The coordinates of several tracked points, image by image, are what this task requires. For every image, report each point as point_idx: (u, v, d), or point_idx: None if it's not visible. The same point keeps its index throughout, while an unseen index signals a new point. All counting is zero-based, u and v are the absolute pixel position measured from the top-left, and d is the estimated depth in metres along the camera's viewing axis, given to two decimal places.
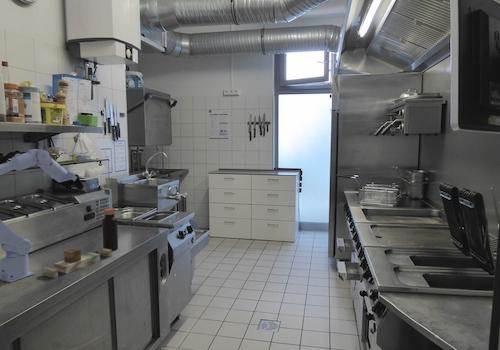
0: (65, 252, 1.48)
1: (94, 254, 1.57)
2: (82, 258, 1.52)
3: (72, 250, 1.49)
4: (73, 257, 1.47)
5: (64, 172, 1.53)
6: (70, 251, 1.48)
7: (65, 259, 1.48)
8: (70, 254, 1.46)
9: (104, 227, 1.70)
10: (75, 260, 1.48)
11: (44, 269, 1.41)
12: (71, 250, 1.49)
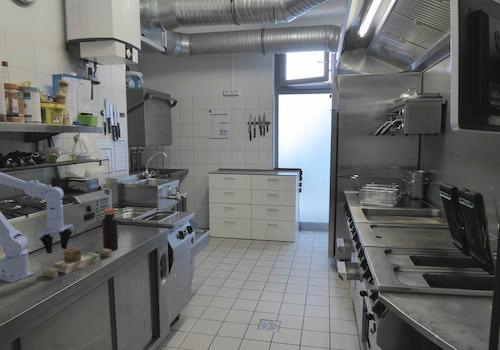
0: (65, 252, 1.48)
1: (94, 254, 1.57)
2: (82, 258, 1.52)
3: (72, 250, 1.49)
4: (73, 257, 1.47)
5: (50, 226, 1.39)
6: (70, 251, 1.48)
7: (65, 259, 1.48)
8: (70, 254, 1.46)
9: (104, 227, 1.70)
10: (75, 260, 1.48)
11: (44, 269, 1.41)
12: (71, 250, 1.49)
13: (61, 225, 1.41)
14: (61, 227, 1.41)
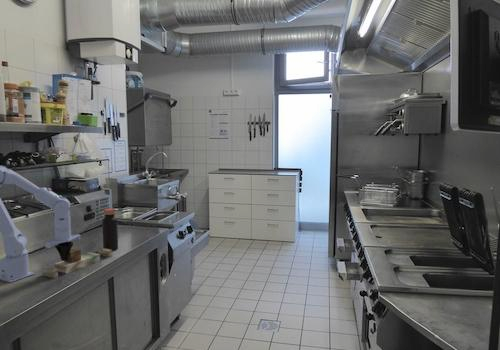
0: None
1: (94, 254, 1.57)
2: (82, 258, 1.52)
3: (72, 250, 1.49)
4: (73, 257, 1.47)
5: (58, 236, 1.42)
6: (70, 251, 1.48)
7: None
8: (70, 254, 1.46)
9: (104, 227, 1.70)
10: (75, 260, 1.48)
11: (44, 269, 1.41)
12: (71, 250, 1.49)
13: (69, 235, 1.44)
14: (69, 237, 1.44)
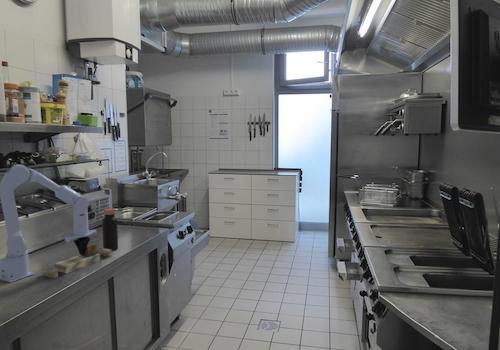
0: None
1: None
2: (82, 258, 1.52)
3: (88, 245, 1.56)
4: (90, 251, 1.55)
5: (77, 231, 1.50)
6: (87, 246, 1.55)
7: None
8: (87, 248, 1.54)
9: (104, 227, 1.70)
10: (91, 254, 1.55)
11: (44, 269, 1.41)
12: (88, 245, 1.56)
13: (86, 230, 1.52)
14: (86, 232, 1.52)
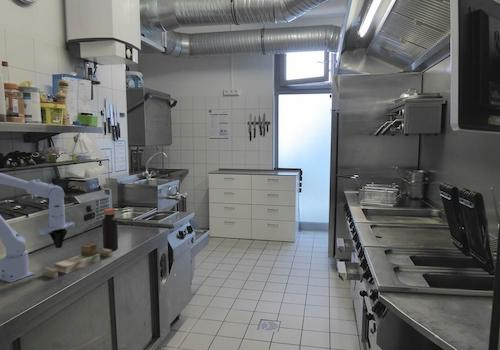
0: (82, 247, 1.55)
1: None
2: (82, 258, 1.52)
3: (88, 245, 1.56)
4: (90, 251, 1.55)
5: (52, 223, 1.43)
6: (87, 246, 1.55)
7: (82, 253, 1.55)
8: (87, 248, 1.54)
9: (104, 227, 1.70)
10: (91, 254, 1.55)
11: (44, 269, 1.41)
12: (88, 245, 1.56)
13: (63, 223, 1.45)
14: (63, 224, 1.45)
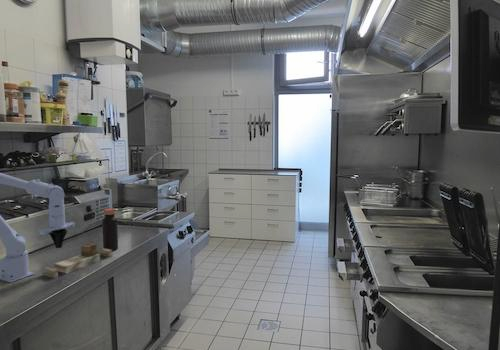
0: (82, 247, 1.55)
1: None
2: (82, 258, 1.52)
3: (88, 245, 1.56)
4: (90, 251, 1.55)
5: (52, 223, 1.43)
6: (87, 246, 1.55)
7: (82, 253, 1.55)
8: (87, 248, 1.54)
9: (104, 227, 1.70)
10: (91, 254, 1.55)
11: (44, 269, 1.41)
12: (88, 245, 1.56)
13: (63, 223, 1.45)
14: (63, 224, 1.45)
